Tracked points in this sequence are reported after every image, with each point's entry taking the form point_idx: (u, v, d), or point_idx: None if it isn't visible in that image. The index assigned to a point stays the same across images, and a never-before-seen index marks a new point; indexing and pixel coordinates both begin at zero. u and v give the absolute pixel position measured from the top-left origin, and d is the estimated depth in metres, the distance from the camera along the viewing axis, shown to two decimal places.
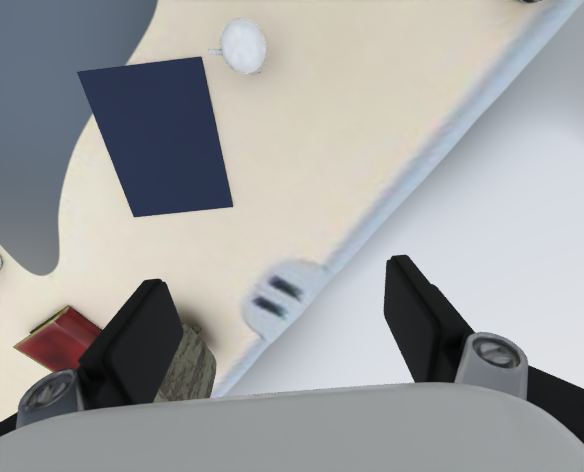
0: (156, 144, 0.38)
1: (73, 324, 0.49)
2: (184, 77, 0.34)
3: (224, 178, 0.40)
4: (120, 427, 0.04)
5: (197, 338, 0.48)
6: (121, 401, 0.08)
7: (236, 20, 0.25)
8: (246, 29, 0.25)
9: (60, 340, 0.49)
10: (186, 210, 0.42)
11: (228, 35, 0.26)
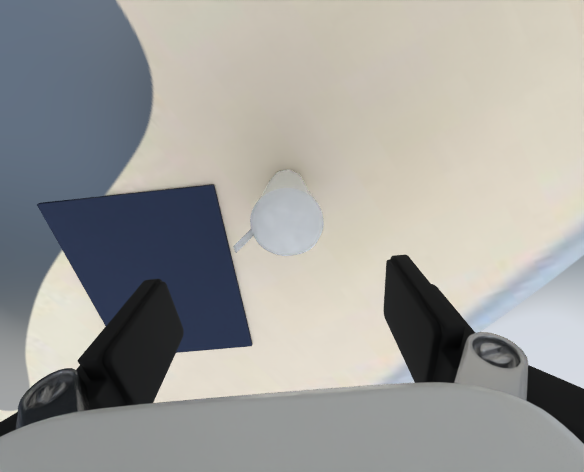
0: None
1: None
2: (189, 209, 0.24)
3: (242, 318, 0.30)
4: (120, 427, 0.04)
5: None
6: (122, 401, 0.08)
7: (279, 196, 0.15)
8: (296, 211, 0.15)
9: None
10: (191, 350, 0.32)
11: (265, 217, 0.15)
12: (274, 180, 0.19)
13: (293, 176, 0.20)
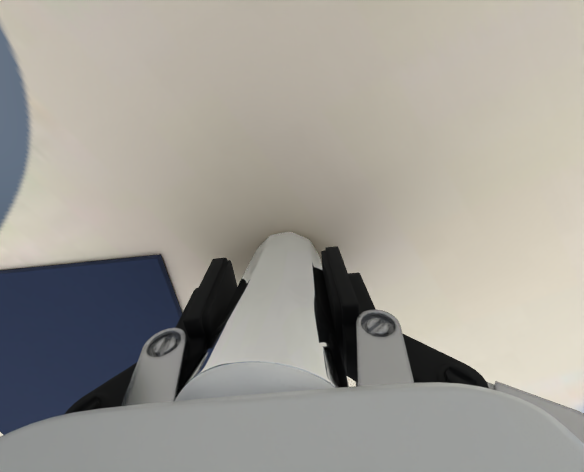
0: (74, 394, 0.18)
1: None
2: (121, 295, 0.14)
3: None
4: (120, 427, 0.04)
5: None
6: None
7: None
8: None
9: None
10: None
11: None
12: (253, 278, 0.09)
13: (294, 261, 0.10)
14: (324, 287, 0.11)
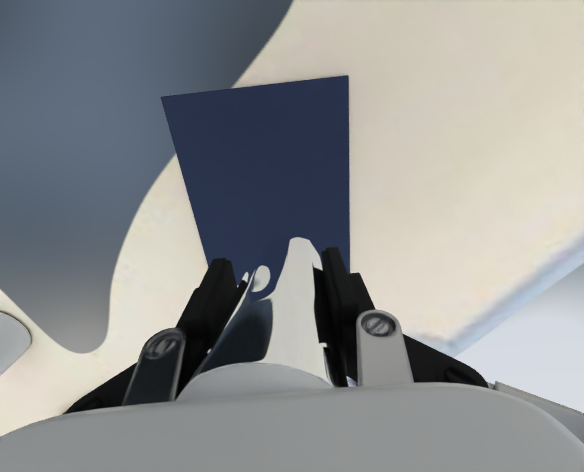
0: (260, 196, 0.27)
1: None
2: (318, 105, 0.23)
3: (346, 240, 0.29)
4: (120, 427, 0.04)
5: None
6: None
7: None
8: None
9: None
10: None
11: None
12: (253, 279, 0.09)
13: (295, 262, 0.10)
14: (324, 288, 0.11)
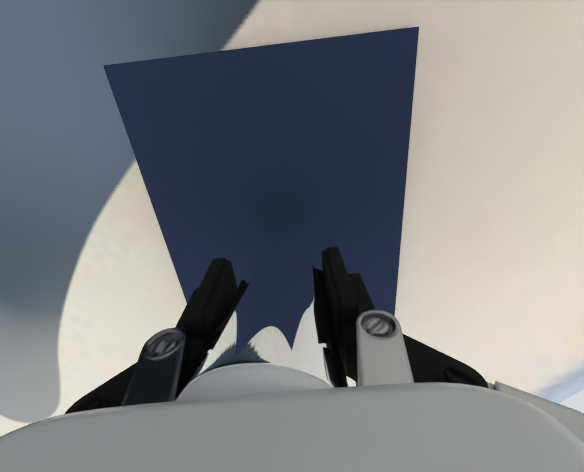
0: (268, 223, 0.17)
1: None
2: (364, 79, 0.14)
3: (392, 283, 0.20)
4: (120, 427, 0.04)
5: None
6: None
7: None
8: None
9: None
10: None
11: None
12: (253, 279, 0.09)
13: (294, 262, 0.10)
14: (324, 288, 0.11)
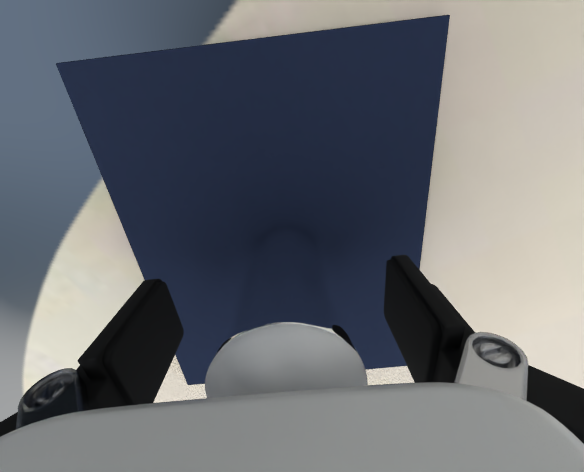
0: None
1: None
2: (381, 80, 0.11)
3: None
4: (120, 427, 0.04)
5: None
6: (121, 401, 0.08)
7: (268, 355, 0.06)
8: None
9: None
10: None
11: None
12: (263, 265, 0.10)
13: (298, 250, 0.11)
14: (324, 273, 0.12)
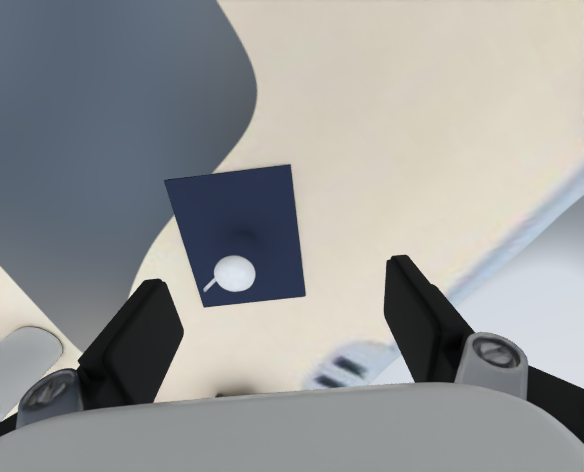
0: None
1: None
2: (271, 183, 0.34)
3: (300, 271, 0.39)
4: (120, 427, 0.04)
5: None
6: (121, 402, 0.08)
7: (228, 261, 0.28)
8: (237, 269, 0.28)
9: None
10: (258, 300, 0.41)
11: (221, 272, 0.29)
12: (231, 245, 0.33)
13: (244, 241, 0.34)
14: (254, 248, 0.34)
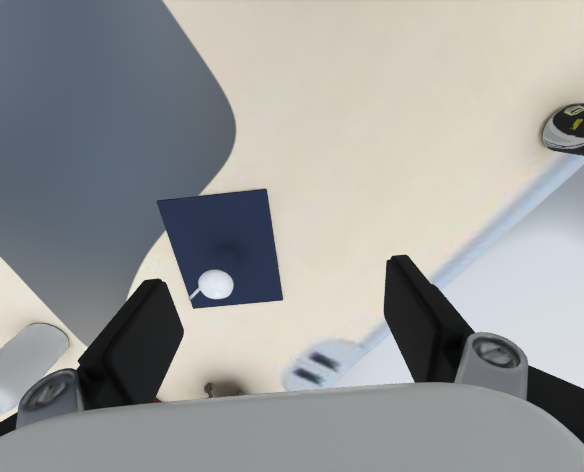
0: None
1: None
2: (250, 204, 0.39)
3: (277, 279, 0.44)
4: (120, 427, 0.04)
5: None
6: (122, 402, 0.08)
7: (209, 274, 0.34)
8: (217, 281, 0.34)
9: None
10: (241, 303, 0.47)
11: (203, 283, 0.34)
12: (214, 258, 0.38)
13: (226, 254, 0.39)
14: (235, 261, 0.39)
